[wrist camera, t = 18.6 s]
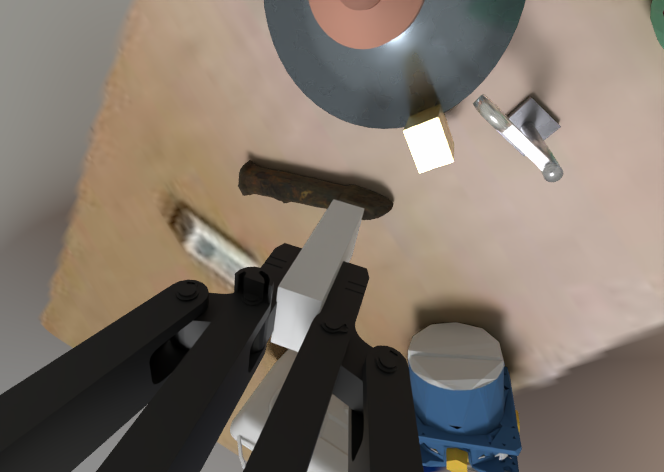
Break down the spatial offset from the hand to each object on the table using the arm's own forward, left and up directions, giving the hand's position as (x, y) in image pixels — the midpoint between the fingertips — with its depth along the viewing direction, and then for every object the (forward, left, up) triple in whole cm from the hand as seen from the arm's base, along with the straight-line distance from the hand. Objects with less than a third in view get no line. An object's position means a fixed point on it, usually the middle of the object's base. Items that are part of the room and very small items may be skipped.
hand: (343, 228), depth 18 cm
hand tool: (+12, -8, -27) cm, 30 cm away
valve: (+32, +17, -27) cm, 45 cm away
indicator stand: (-2, +10, -26) cm, 28 cm away
